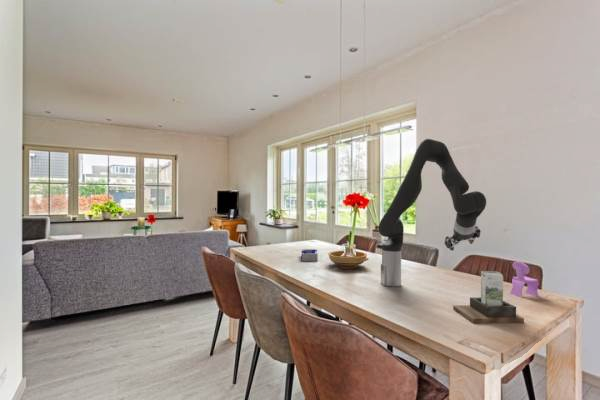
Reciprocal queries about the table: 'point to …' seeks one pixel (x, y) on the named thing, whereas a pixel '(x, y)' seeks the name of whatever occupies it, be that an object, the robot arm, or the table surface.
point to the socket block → (488, 312)
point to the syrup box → (492, 288)
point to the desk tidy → (309, 255)
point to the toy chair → (523, 280)
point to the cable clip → (310, 253)
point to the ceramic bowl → (347, 259)
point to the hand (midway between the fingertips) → (460, 245)
